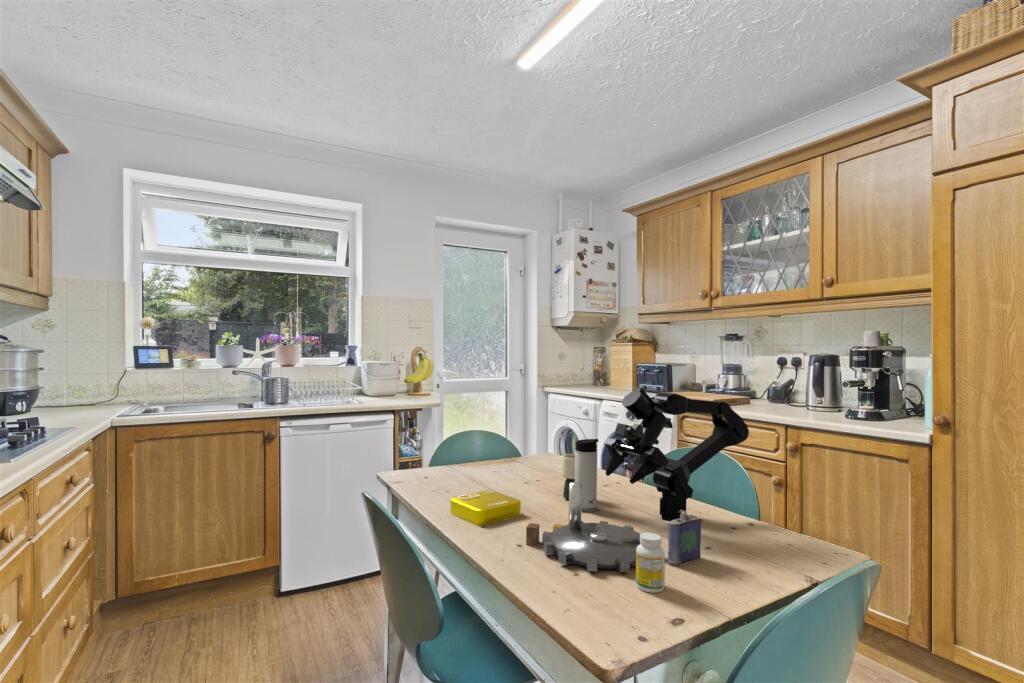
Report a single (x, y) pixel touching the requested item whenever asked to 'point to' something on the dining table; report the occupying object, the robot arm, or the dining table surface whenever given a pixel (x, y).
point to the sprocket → (591, 540)
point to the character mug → (568, 472)
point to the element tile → (485, 507)
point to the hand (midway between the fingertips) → (618, 478)
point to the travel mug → (587, 472)
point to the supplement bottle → (650, 563)
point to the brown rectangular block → (532, 534)
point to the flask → (684, 539)
